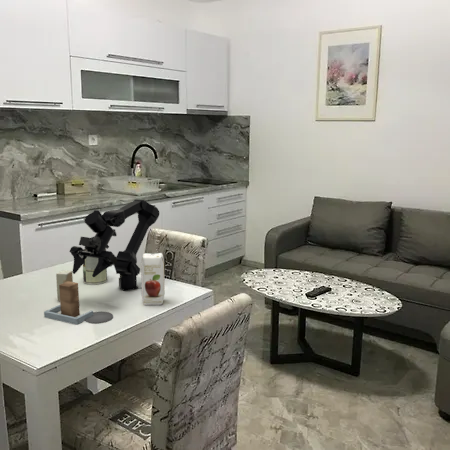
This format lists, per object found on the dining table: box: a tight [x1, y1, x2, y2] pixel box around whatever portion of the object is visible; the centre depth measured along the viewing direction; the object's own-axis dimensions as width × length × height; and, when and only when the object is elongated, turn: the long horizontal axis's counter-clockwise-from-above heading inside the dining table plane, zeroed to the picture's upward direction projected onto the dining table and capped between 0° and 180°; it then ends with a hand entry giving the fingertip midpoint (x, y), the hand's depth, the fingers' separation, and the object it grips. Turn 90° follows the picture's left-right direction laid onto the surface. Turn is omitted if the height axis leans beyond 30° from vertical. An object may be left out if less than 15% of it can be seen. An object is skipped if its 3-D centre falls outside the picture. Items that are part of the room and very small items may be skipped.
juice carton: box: [140, 252, 166, 306], centre depth 186 cm, size 8×9×19 cm
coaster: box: [84, 311, 114, 324], centre depth 172 cm, size 10×10×1 cm
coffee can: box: [82, 248, 108, 286], centre depth 211 cm, size 10×10×14 cm
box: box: [55, 269, 74, 302], centre depth 189 cm, size 5×4×11 cm
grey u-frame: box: [43, 304, 94, 325], centre depth 173 cm, size 8×15×2 cm, turn 65°
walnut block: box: [59, 281, 81, 318], centre depth 173 cm, size 4×4×12 cm
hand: (83, 275), depth 178 cm, fingers open, 9 cm apart
